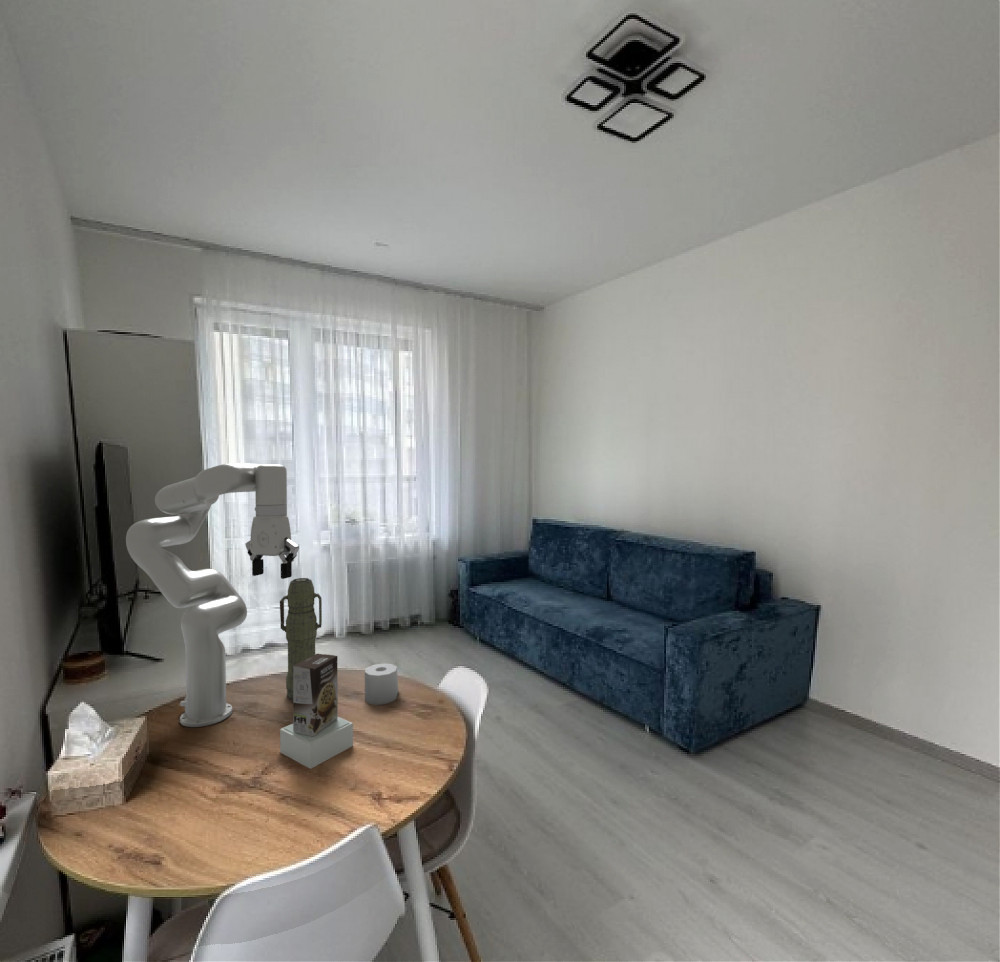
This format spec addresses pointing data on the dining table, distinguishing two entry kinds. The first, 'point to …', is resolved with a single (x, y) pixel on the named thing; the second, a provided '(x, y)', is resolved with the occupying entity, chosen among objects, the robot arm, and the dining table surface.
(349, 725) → the ceramic box
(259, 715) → the dining table surface
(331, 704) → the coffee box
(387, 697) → the toilet tissue
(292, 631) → the thermos
